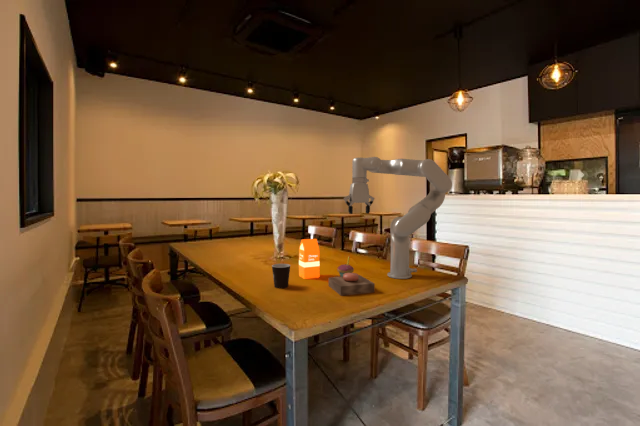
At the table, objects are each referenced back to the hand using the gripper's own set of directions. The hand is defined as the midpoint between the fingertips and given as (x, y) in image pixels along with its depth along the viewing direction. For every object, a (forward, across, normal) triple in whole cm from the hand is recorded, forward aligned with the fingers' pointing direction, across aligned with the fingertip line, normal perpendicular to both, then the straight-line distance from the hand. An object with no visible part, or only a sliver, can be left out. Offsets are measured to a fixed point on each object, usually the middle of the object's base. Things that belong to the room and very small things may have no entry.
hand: (359, 213), depth 173 cm
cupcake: (+34, +9, +3) cm, 35 cm away
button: (+29, +14, +22) cm, 39 cm away
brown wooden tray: (+33, +14, +22) cm, 42 cm away
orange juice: (+34, +26, -6) cm, 43 cm away
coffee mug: (+34, +43, +7) cm, 55 cm away
